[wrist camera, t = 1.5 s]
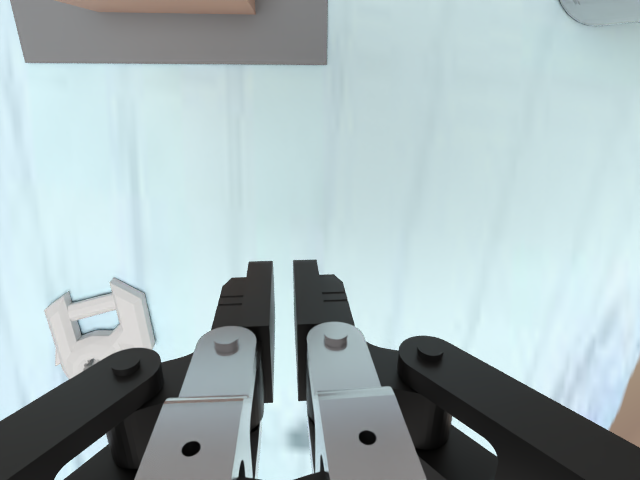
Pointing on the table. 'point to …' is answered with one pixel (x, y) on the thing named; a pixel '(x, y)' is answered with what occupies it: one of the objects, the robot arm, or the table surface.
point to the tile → (168, 6)
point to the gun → (100, 343)
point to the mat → (173, 35)
